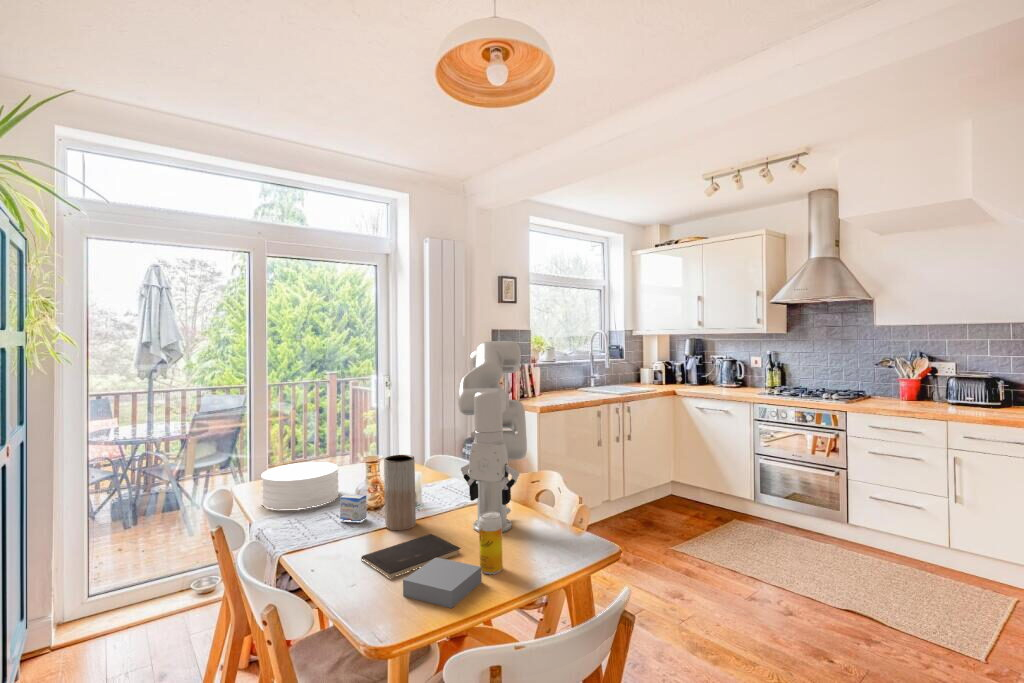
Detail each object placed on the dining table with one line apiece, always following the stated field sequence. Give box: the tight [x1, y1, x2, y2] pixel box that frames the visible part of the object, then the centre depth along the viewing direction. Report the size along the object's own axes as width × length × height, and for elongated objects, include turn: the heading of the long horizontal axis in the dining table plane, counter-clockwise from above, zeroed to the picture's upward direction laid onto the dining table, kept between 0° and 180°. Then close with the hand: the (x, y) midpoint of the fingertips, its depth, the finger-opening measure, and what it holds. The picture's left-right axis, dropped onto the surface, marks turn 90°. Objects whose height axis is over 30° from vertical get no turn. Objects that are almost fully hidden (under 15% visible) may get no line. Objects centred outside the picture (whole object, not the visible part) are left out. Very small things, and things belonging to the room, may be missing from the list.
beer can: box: [478, 512, 503, 576], centre depth 140 cm, size 6×6×15 cm
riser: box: [402, 557, 483, 609], centre depth 131 cm, size 14×14×4 cm
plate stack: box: [260, 461, 340, 509], centre depth 206 cm, size 28×28×12 cm
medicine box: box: [339, 493, 368, 521], centre depth 181 cm, size 8×4×9 cm, turn 76°
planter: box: [383, 454, 417, 531], centre depth 175 cm, size 10×10×23 cm
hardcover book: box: [361, 533, 461, 579], centre depth 150 cm, size 16×23×2 cm
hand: (489, 501), depth 140 cm, fingers open, 9 cm apart
